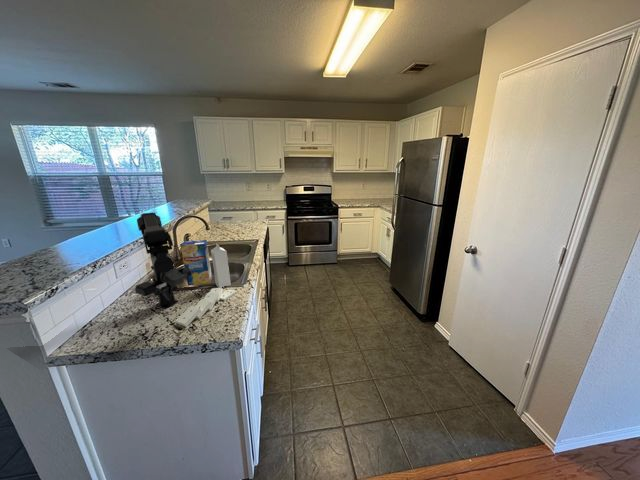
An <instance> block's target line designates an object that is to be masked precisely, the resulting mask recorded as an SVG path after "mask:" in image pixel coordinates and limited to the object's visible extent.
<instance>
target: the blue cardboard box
mask: <svg viewBox="0 0 640 480" xmlns="http://www.w3.org/2000/svg"><path fill="white" fill-rule="evenodd" d="M208 247H209V246H208V241H207V239H201V240H200V239H199V240H187V241H186V240H185V241H183V242H182V244H180V250H181V251H180V252H181V255H182V261H183V266H184V267H185V268H189V269H190V270H191V275H190V276H188V277H186V278H185V279H186V282H187V286H188V287H189V286H190V287H191V286H200V285H207V284H208V285H209V284H211V282H212V280H213V275H212V274H213V273H212V267H211V261H210V254H209V248H208Z"/></svg>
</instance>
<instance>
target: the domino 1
mask: <svg viewBox="0 0 640 480" xmlns="http://www.w3.org/2000/svg"><path fill="white" fill-rule="evenodd" d="M200 312H201V310H200V308H197V307H195V305H190V306H189V307H188V308H187V309H186V310H185V311H184V312H183V313H182V314H181V315H180V316H179V317H178V318H177V319H176V320H175V322H176V324H178V325H180V326H183V327H186V328H187V327H188V326H189V325H190V324H191V323H192V322H193V321H194V320H195V319H196V318H195V317H196V316H197V315H198V314H199V313H200Z"/></svg>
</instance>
